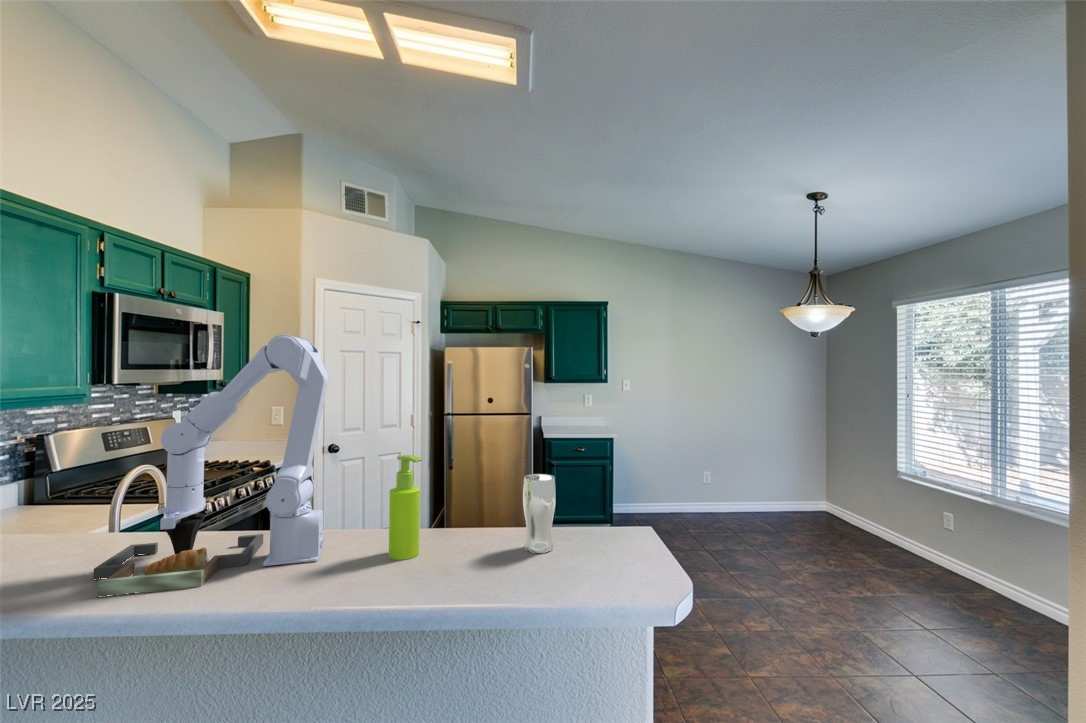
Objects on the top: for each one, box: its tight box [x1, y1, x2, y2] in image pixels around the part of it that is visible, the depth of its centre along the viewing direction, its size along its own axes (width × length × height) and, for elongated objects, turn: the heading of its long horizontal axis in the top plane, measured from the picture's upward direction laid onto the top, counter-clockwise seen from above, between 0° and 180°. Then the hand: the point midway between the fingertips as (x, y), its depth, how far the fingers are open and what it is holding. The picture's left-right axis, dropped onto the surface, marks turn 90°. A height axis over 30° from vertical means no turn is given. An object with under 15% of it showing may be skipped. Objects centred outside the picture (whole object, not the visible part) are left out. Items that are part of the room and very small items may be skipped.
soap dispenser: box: [388, 454, 423, 561], centre depth 95 cm, size 6×7×20 cm
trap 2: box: [218, 533, 264, 569], centre depth 95 cm, size 4×12×2 cm, turn 17°
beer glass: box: [522, 473, 556, 554], centre depth 99 cm, size 7×7×15 cm
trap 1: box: [92, 542, 159, 580], centre depth 89 cm, size 4×12×2 cm, turn 17°
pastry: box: [143, 547, 210, 575], centre depth 86 cm, size 9×7×4 cm
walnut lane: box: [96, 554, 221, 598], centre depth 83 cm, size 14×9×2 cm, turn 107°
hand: (183, 555), depth 90 cm, fingers closed
